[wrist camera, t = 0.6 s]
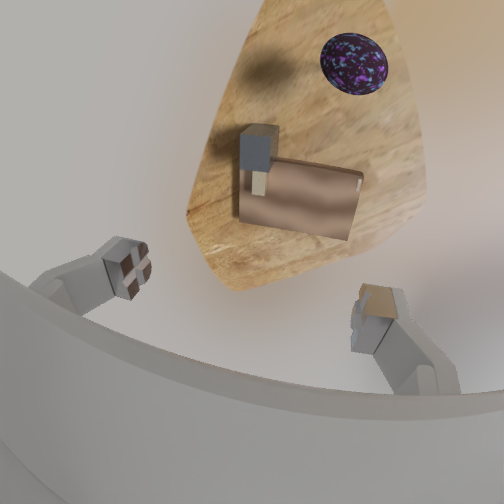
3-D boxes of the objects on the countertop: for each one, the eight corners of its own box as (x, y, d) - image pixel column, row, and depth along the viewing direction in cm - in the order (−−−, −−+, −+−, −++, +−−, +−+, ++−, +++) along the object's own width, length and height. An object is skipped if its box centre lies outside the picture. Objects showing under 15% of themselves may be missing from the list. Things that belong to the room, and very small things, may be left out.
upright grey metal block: (253, 123, 37) (240, 134, 32) (279, 125, 37) (271, 137, 31) (250, 184, 44) (239, 204, 39) (274, 187, 43) (266, 208, 38)
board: (243, 153, 41) (239, 157, 40) (362, 172, 38) (364, 177, 37) (242, 216, 49) (239, 222, 47) (346, 234, 46) (347, 241, 44)
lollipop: (321, 86, 32) (321, 94, 20) (319, 42, 27) (318, 25, 16) (368, 90, 30) (394, 103, 19) (368, 47, 26) (394, 34, 15)
